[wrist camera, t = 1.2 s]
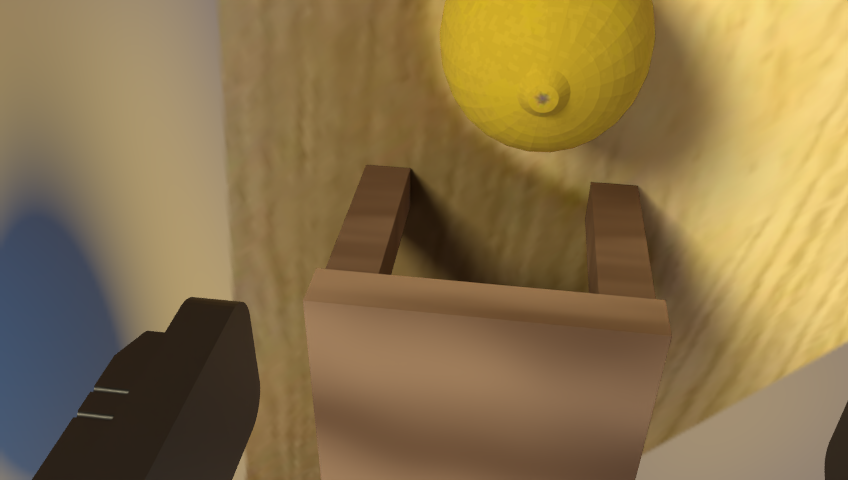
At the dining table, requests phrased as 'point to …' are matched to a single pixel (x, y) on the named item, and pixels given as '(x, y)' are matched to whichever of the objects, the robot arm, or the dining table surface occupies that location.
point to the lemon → (546, 66)
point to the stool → (482, 355)
